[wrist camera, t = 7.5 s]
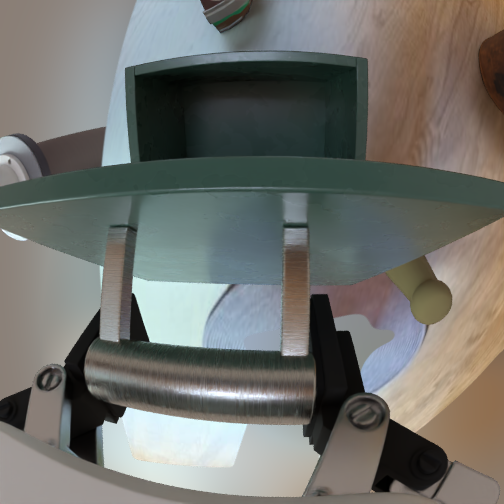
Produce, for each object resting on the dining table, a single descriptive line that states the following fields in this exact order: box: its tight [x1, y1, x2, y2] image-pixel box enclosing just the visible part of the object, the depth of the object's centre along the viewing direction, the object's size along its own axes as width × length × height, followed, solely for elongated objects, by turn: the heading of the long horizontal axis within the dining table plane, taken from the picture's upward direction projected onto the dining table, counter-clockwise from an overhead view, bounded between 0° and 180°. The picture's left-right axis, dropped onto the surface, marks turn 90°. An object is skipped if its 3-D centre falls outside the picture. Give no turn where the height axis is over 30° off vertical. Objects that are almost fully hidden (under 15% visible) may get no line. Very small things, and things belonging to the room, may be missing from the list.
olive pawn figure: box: [386, 255, 452, 325], centre depth 31 cm, size 6×6×11 cm
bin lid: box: [0, 156, 504, 425], centre depth 13 cm, size 17×17×6 cm
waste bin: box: [125, 51, 368, 163], centre depth 25 cm, size 17×17×13 cm
